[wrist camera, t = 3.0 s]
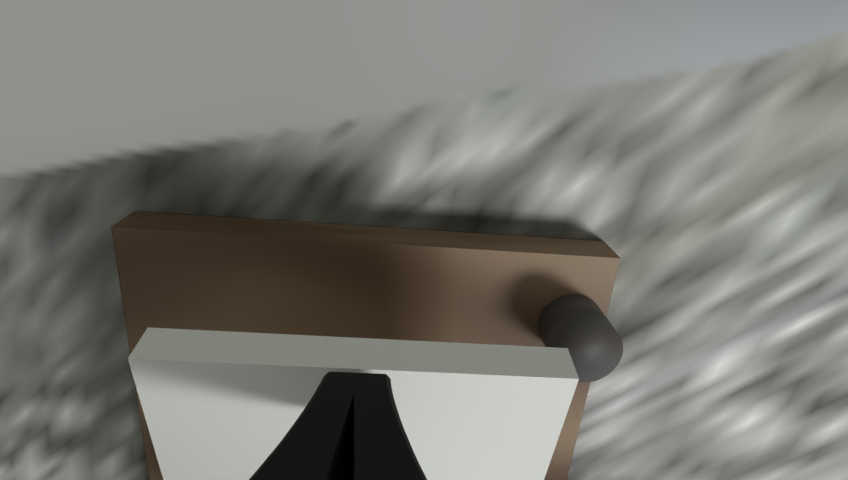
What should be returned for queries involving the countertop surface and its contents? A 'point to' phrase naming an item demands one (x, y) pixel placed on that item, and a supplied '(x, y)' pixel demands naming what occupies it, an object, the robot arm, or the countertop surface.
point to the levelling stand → (371, 290)
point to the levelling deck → (317, 355)
